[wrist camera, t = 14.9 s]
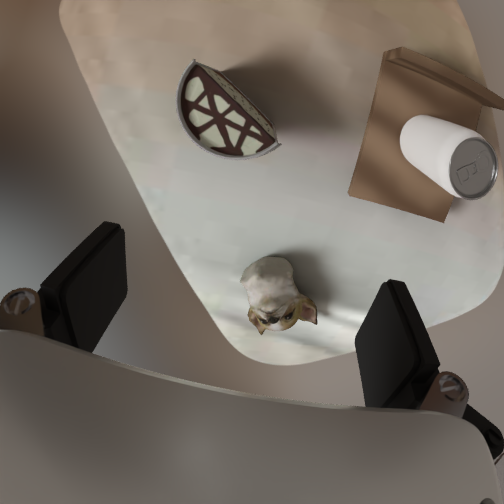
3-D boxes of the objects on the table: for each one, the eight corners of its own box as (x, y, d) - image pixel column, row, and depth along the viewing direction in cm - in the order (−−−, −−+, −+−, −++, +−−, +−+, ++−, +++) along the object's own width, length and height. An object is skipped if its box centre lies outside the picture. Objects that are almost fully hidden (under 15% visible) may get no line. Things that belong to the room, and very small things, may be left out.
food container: (178, 98, 35) (146, 104, 27) (212, 63, 33) (188, 57, 24) (245, 164, 39) (234, 189, 30) (282, 132, 36) (281, 148, 28)
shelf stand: (377, 53, 30) (402, 46, 22) (468, 93, 30) (506, 101, 22) (343, 185, 39) (358, 212, 31) (432, 210, 39) (460, 240, 31)
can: (452, 151, 31) (508, 184, 21) (413, 176, 33) (459, 217, 23) (431, 105, 29) (488, 120, 18) (388, 130, 31) (433, 153, 21)
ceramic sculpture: (300, 273, 36) (323, 351, 43) (298, 235, 43) (319, 310, 51) (215, 291, 39) (254, 362, 46) (226, 252, 46) (258, 322, 53)
